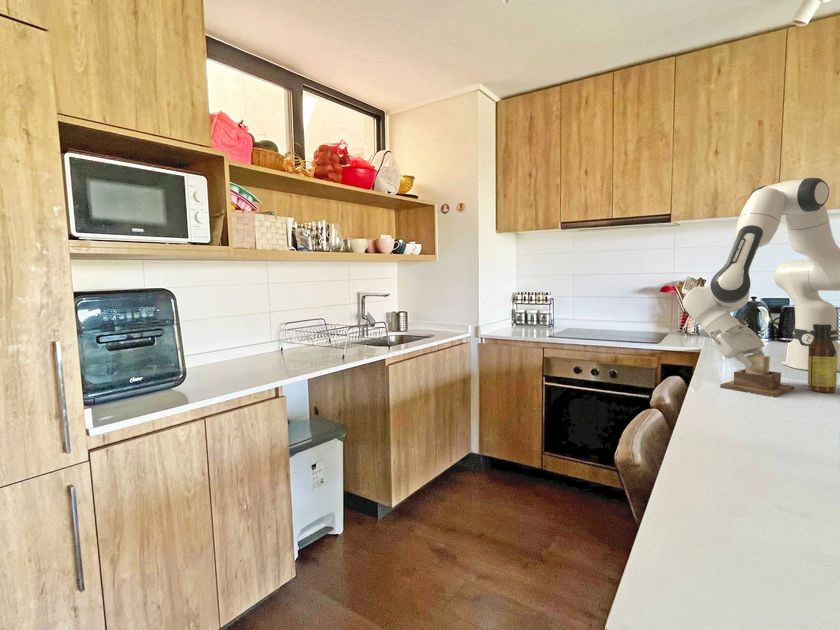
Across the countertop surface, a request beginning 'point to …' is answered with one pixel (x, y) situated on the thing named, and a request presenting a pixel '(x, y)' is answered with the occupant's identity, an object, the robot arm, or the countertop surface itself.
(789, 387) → the walnut stand
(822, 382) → the sauce bottle
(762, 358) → the maple block
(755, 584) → the countertop surface
